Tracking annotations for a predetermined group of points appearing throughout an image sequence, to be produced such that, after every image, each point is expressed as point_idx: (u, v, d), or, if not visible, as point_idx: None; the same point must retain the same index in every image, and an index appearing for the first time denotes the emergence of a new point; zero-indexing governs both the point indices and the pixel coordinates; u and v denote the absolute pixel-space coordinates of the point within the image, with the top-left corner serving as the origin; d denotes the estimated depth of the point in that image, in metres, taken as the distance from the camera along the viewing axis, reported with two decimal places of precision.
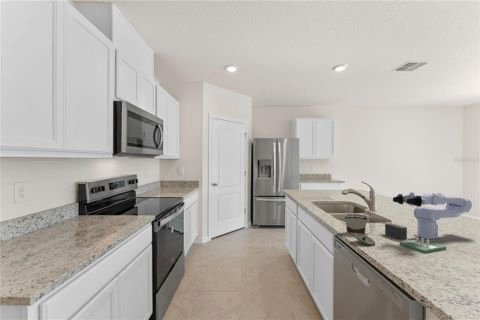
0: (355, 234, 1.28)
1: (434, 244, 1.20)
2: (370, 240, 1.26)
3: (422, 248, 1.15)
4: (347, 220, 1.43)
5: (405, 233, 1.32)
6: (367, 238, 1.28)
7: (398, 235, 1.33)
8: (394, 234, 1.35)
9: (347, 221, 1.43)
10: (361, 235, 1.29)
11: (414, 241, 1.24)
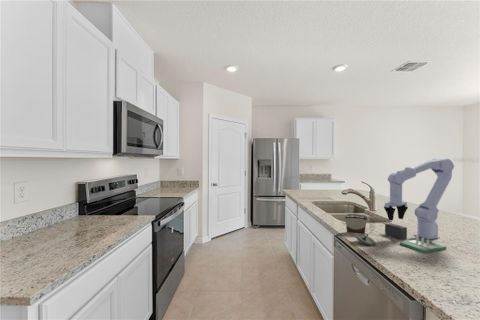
0: (355, 234, 1.28)
1: (434, 244, 1.20)
2: (370, 240, 1.26)
3: (422, 248, 1.15)
4: (347, 220, 1.43)
5: (405, 233, 1.32)
6: (367, 238, 1.27)
7: (398, 235, 1.33)
8: (394, 234, 1.35)
9: (347, 221, 1.43)
10: (361, 235, 1.29)
11: (414, 241, 1.24)
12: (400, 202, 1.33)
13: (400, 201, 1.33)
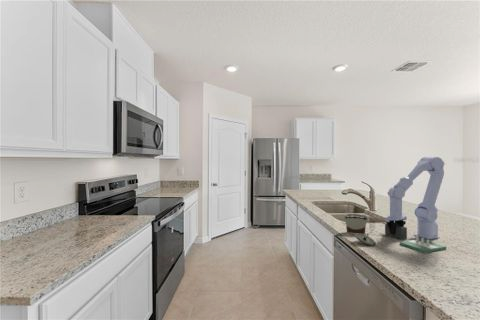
0: (356, 234, 1.27)
1: (434, 244, 1.20)
2: (371, 240, 1.26)
3: (422, 248, 1.15)
4: (347, 220, 1.43)
5: (405, 233, 1.32)
6: (368, 238, 1.27)
7: (398, 235, 1.33)
8: None
9: (347, 221, 1.43)
10: (362, 235, 1.29)
11: (414, 241, 1.24)
12: (400, 217, 1.34)
13: (400, 216, 1.34)
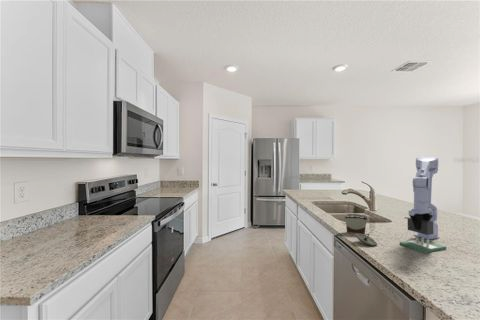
0: (357, 234, 1.27)
1: (434, 244, 1.20)
2: (372, 240, 1.25)
3: (422, 248, 1.15)
4: (347, 220, 1.43)
5: (431, 228, 1.17)
6: (369, 238, 1.27)
7: (423, 231, 1.18)
8: None
9: (347, 221, 1.43)
10: (362, 235, 1.28)
11: (414, 241, 1.24)
12: (426, 210, 1.19)
13: (426, 208, 1.19)
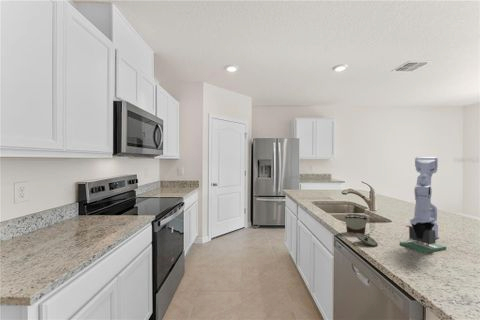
0: (357, 235, 1.27)
1: (434, 244, 1.20)
2: (372, 241, 1.25)
3: (422, 248, 1.15)
4: (347, 220, 1.43)
5: (433, 237, 1.16)
6: (369, 239, 1.27)
7: (425, 240, 1.17)
8: None
9: (347, 221, 1.43)
10: (363, 236, 1.28)
11: (414, 241, 1.24)
12: (428, 218, 1.18)
13: (428, 217, 1.18)
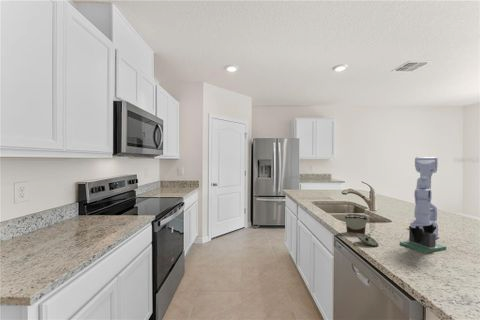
0: (358, 235, 1.27)
1: None
2: (373, 241, 1.25)
3: (422, 248, 1.15)
4: (347, 220, 1.43)
5: (434, 240, 1.16)
6: (370, 239, 1.27)
7: (425, 243, 1.17)
8: (421, 241, 1.19)
9: (347, 221, 1.43)
10: (364, 236, 1.28)
11: None
12: (428, 222, 1.18)
13: (428, 221, 1.18)
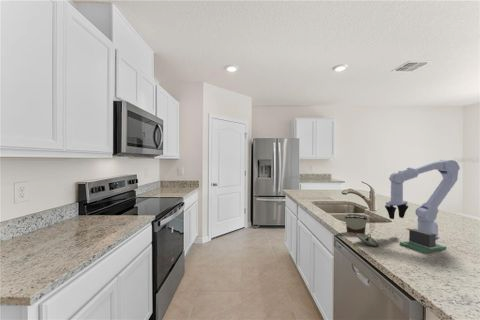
0: (358, 235, 1.26)
1: None
2: (373, 241, 1.25)
3: (422, 248, 1.15)
4: (347, 220, 1.43)
5: (434, 240, 1.16)
6: (370, 239, 1.26)
7: (425, 243, 1.17)
8: (421, 241, 1.19)
9: (347, 221, 1.43)
10: (364, 236, 1.28)
11: None
12: (401, 201, 1.36)
13: (401, 200, 1.36)
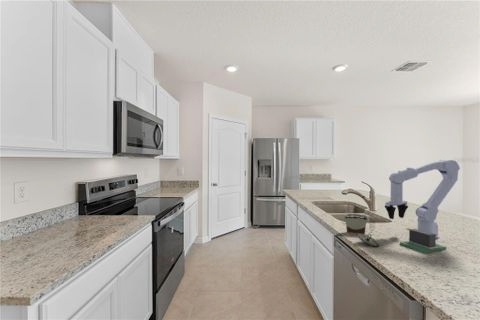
0: (359, 235, 1.26)
1: None
2: (374, 241, 1.25)
3: (422, 248, 1.15)
4: (347, 220, 1.43)
5: (434, 240, 1.16)
6: (371, 239, 1.26)
7: (425, 243, 1.17)
8: (421, 241, 1.19)
9: (347, 221, 1.43)
10: (365, 236, 1.28)
11: None
12: (400, 201, 1.36)
13: (400, 200, 1.36)
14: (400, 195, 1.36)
